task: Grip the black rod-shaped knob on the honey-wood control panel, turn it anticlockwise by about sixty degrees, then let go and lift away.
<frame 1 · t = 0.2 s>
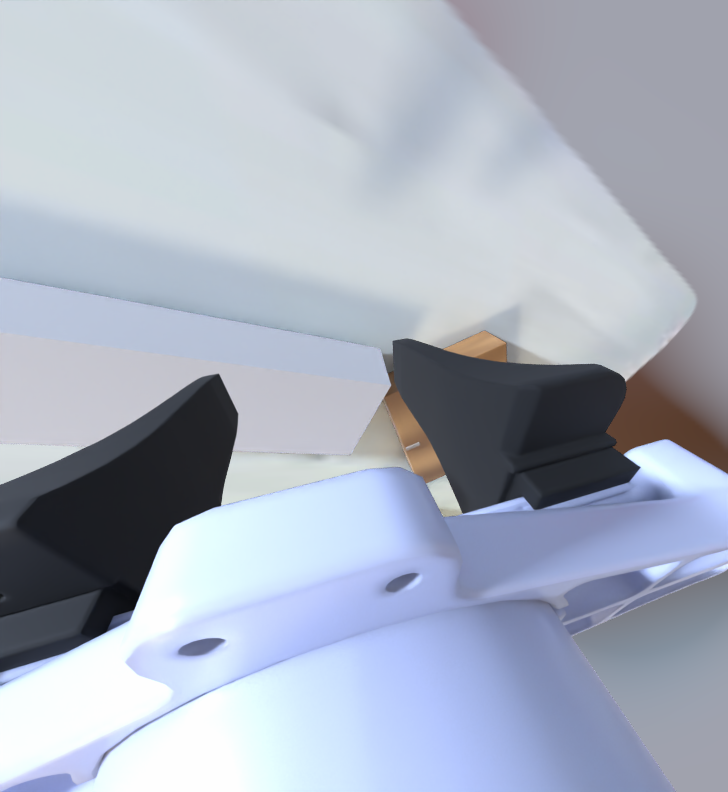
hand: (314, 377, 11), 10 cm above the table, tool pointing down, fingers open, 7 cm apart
panel: (441, 408, 28), on the table
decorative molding: (139, 370, 19), on the table
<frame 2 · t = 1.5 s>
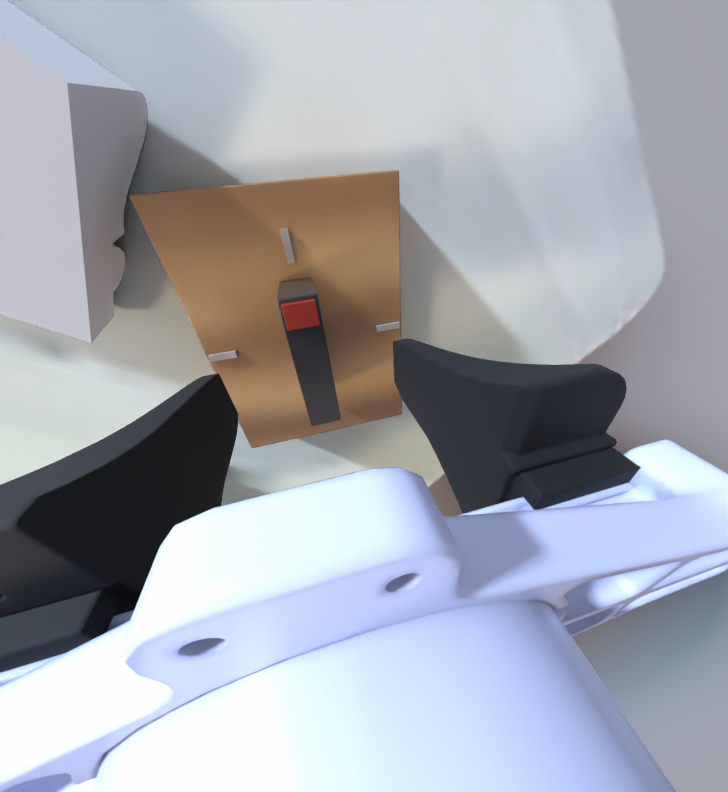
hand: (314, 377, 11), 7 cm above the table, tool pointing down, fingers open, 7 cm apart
panel: (306, 323, 17), on the table
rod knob: (311, 354, 13), point 5 cm above the table, hinge at 0.0°
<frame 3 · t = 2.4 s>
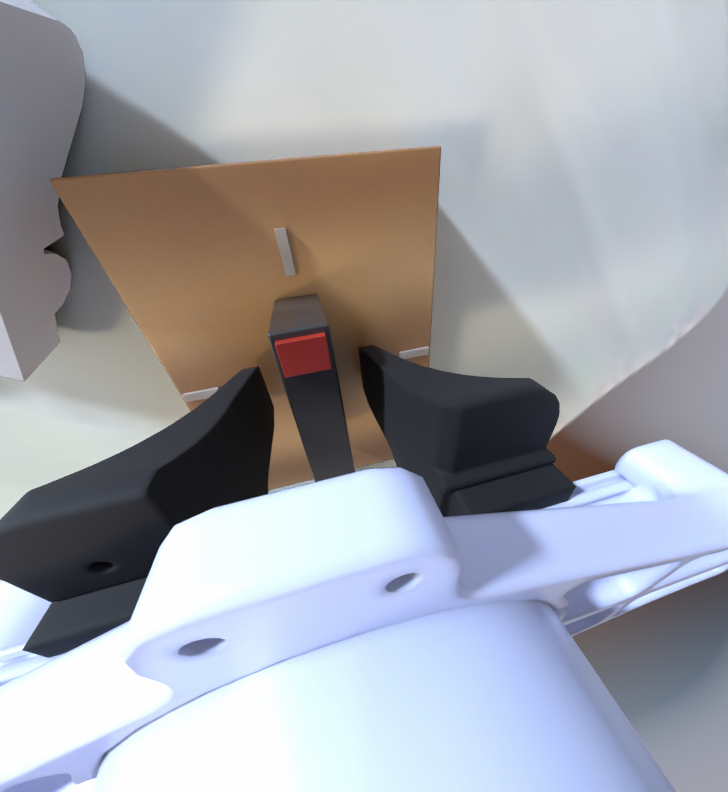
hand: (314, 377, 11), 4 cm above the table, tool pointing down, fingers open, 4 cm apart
panel: (309, 345, 14), on the table
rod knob: (317, 396, 10), point 5 cm above the table, hinge at 0.0°
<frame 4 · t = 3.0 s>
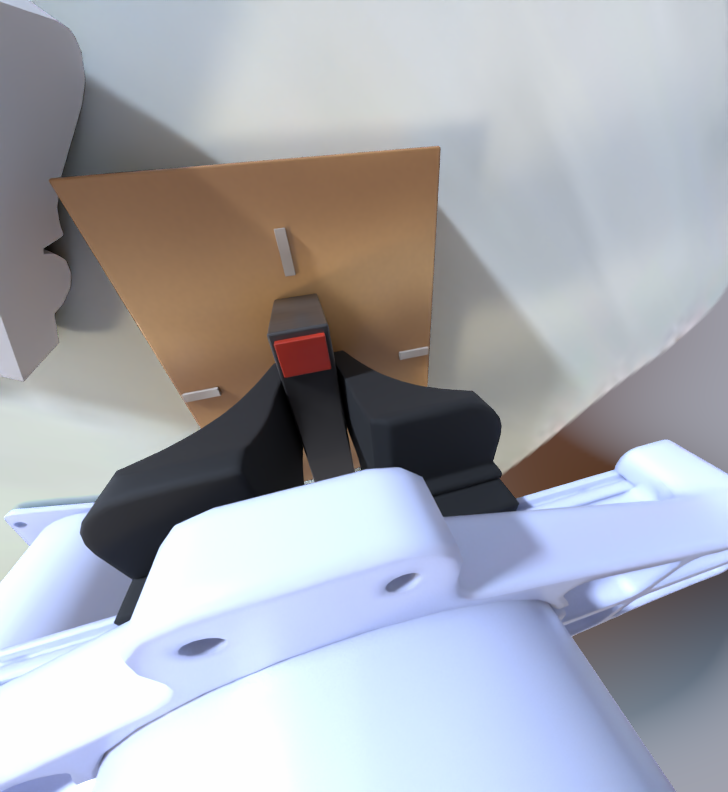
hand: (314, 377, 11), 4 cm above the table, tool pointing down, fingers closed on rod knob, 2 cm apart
panel: (309, 345, 14), on the table
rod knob: (317, 396, 10), point 5 cm above the table, hinge at 0.1°, touching gripper
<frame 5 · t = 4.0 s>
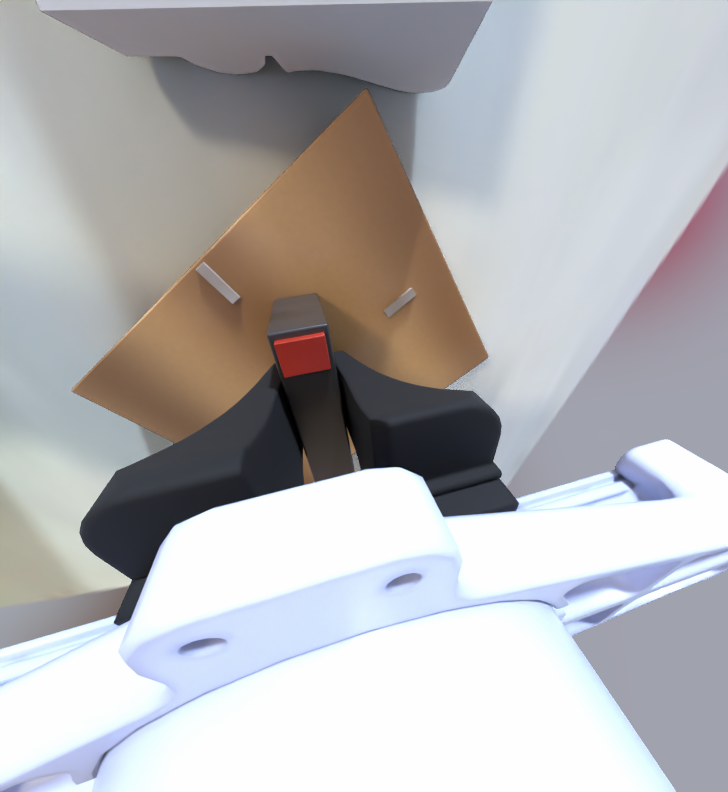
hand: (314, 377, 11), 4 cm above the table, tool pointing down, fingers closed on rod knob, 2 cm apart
panel: (309, 345, 14), on the table
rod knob: (317, 396, 10), point 5 cm above the table, hinge at 59.3°, touching gripper
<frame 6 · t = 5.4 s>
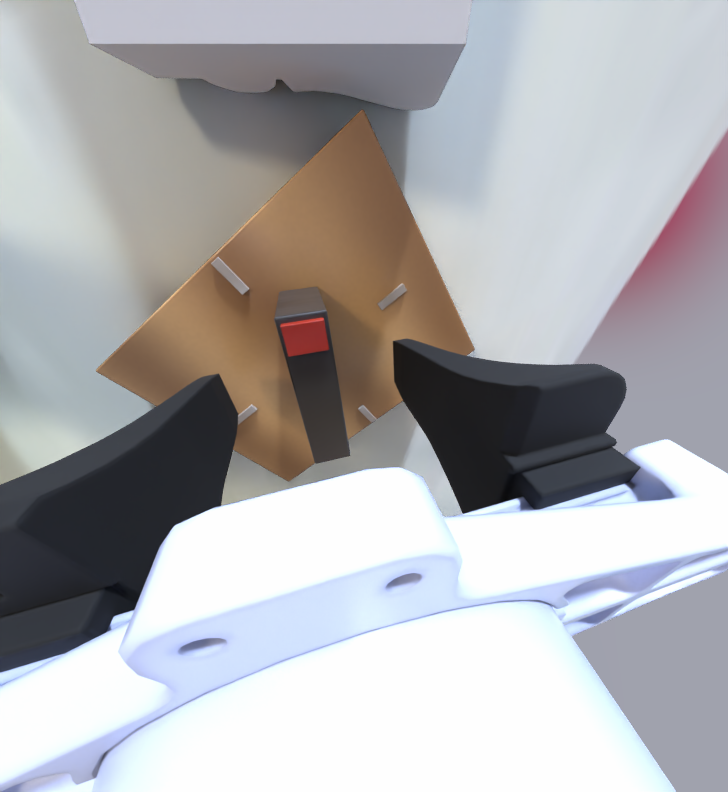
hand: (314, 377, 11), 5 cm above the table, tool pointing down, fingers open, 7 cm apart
panel: (309, 336, 15), on the table
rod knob: (316, 379, 11), point 5 cm above the table, hinge at 59.2°
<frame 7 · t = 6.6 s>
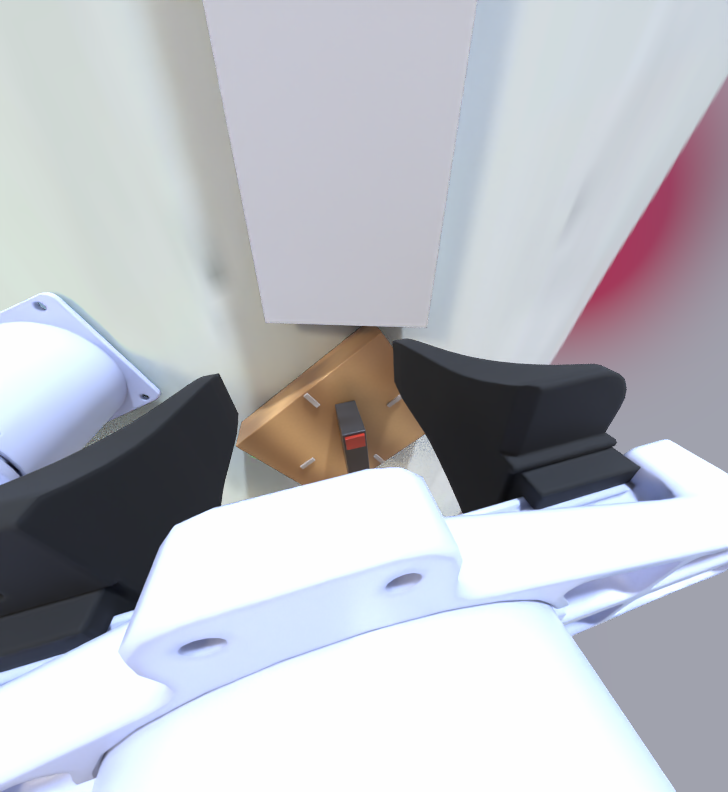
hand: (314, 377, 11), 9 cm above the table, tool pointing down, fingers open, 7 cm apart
panel: (343, 411, 24), on the table
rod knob: (354, 449, 20), point 5 cm above the table, hinge at 59.2°
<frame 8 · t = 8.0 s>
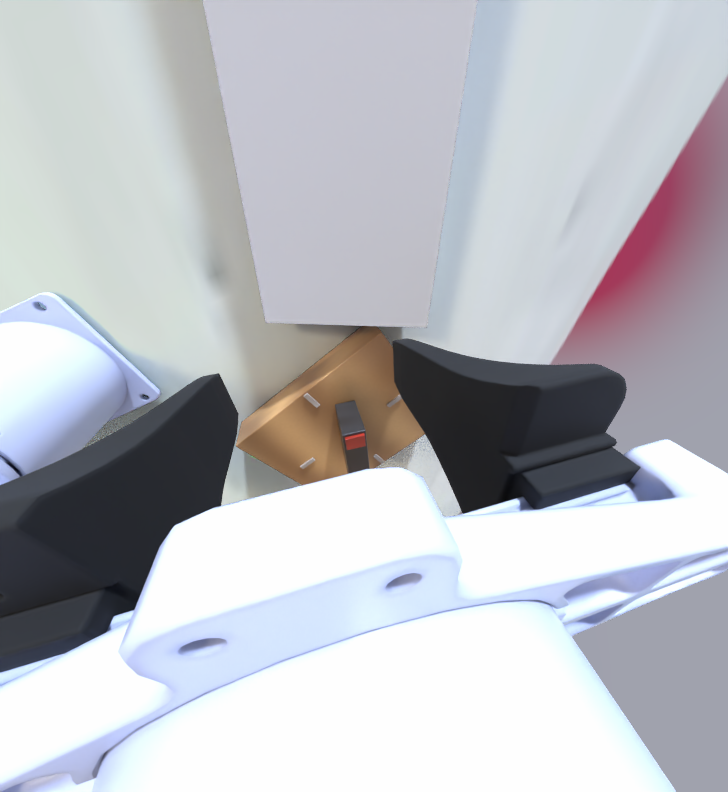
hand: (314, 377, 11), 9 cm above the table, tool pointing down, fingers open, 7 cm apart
panel: (343, 411, 24), on the table
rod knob: (354, 449, 20), point 5 cm above the table, hinge at 59.2°
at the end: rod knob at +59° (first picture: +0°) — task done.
